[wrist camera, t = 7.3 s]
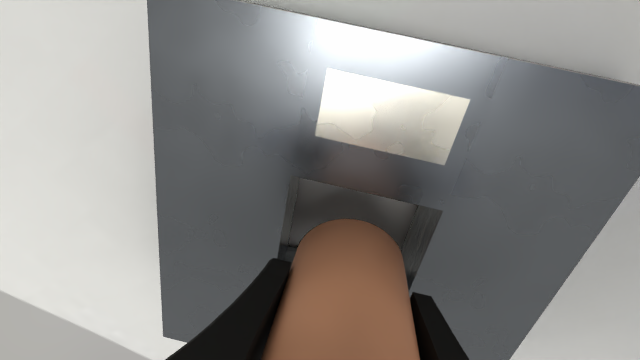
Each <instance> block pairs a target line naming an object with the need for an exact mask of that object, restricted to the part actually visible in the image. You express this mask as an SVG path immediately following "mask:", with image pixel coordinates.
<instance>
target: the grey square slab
mask: <svg viewBox="0 0 640 360" xmlns="http://www.w3.org/2000/svg"><path fill="white" fill-rule="evenodd" d="M147 8H148V29H149V50H150V71H151V92H152V113H153V133H154V154H155V175H156V196H157V217H158V238H159V258H160V279H161V300H162V321H163V337H167V338H171V339H175V340H179V341H183V342H187V343H188V342H189V341H190V340H192V339H193V338H194V337H195V336H197V335H198V334H199V333H200V332H201V331H203V330H204V329H205V328H206V327H207V326H208V325H209V324H211V323H212V322H213V321H214V320H215V319H216V318H217V317H218V316H219V315H220V314H221V313H222V312H223V311H225V310H226V309H227V308H228V307H229V306H230V305H231V304H232V303H233V302H234V301H235V300H236V299H237V298H238V297H239V296H240V295H241V294H242V292H243V291H244V290H245V289H246V288H247V287H248V286H249V285H250V284H251V283H252V282H253V280H254V279H255V278H256V277H257V276H258V275H259V273H260V272H261V271H262V270H263V268H264V267H265V266H266V264H267V263H268V262H269V260H270V259H272V258H276V259H280V260H284V261H288V262H291V266H292V263H293V260H294V257H295V254H296V251H297V248H294V247H290V246H288V241H289V236H290V230H291V225H292V219H293V213H294V208H295V202H296V197H297V191H298V185H299V180H300V178H304V179H309V180H313V181H317V182H322V183H326V184H330V185H335V186H339V187H343V188H348V189H352V190H356V191H360V192H365V193H369V194H373V195H378V196H382V197H386V198H391V199H395V200H399V201H403V202H408V203H412V204H416V205H418V207H417V210H416V213H415V215H414V218H413V220H412V223H411V226H410V228H409V231H408V234H407V236H406V239H405V241H404V244H403V247H402V249H401V253H402V256H403V261H404V267H405V273H406V279H407V285H408V291H409V297H411V295H412V292H416V293H420V294H424V295H428V296H431V297H432V298H433V300H434V302H435V303H436V305H437V307H438V308H439V310H440V312H441V313H442V315H443V317H444V319H445V320H446V322H447V324H448V325H449V327H450V329H451V330H452V332H453V334H454V335H455V337H456V339H457V340H458V342H459V344H460V345H461V347H462V348H463V350H464V352H465V353H466V355H467V356H468V358H469V360H509V359H510V358H511V356H512V355H513V354H514V352H515V351H516V349H517V348H518V347H519V345H520V344H521V342H522V341H523V340H524V338H525V337H526V335H527V334H528V333H529V331H530V330H531V328H532V327H533V325H534V324H535V323H536V321H537V320H538V318H539V317H540V316H541V314H542V313H543V311H544V310H545V309H546V307H547V306H548V304H549V303H550V302H551V300H552V299H553V297H554V296H555V295H556V293H557V292H558V290H559V289H560V287H561V286H562V285H563V283H564V282H565V280H566V279H567V278H568V276H569V275H570V273H571V272H572V271H573V269H574V268H575V266H576V265H577V264H578V262H579V261H580V259H581V258H582V256H583V255H584V254H585V252H586V251H587V249H588V248H589V247H590V245H591V244H592V242H593V241H594V240H595V238H596V237H597V235H598V234H599V233H600V231H601V230H602V228H603V227H604V226H605V224H606V223H607V221H608V220H609V218H610V217H611V216H612V214H613V213H614V211H615V210H616V209H617V207H618V206H619V204H620V203H621V202H622V200H623V199H624V197H625V196H626V195H627V193H628V192H629V190H630V189H631V188H632V186H633V185H634V183H635V182H636V180H637V179H638V178H639V176H640V85H637V84H632V83H628V82H624V81H619V80H614V79H610V78H605V77H600V76H595V75H591V74H586V73H581V72H576V71H572V70H567V69H562V68H558V67H553V66H548V65H543V64H539V63H534V62H529V61H524V60H520V59H515V58H510V57H506V56H501V55H496V54H491V53H487V52H482V51H477V50H472V49H468V48H463V47H458V46H454V45H449V44H444V43H439V42H435V41H430V40H425V39H420V38H416V37H411V36H406V35H401V34H397V33H392V32H387V31H383V30H378V29H373V28H368V27H364V26H359V25H354V24H349V23H345V22H340V21H335V20H331V19H326V18H321V17H316V16H312V15H307V14H302V13H297V12H293V11H288V10H283V9H279V8H274V7H269V6H264V5H260V4H255V3H250V2H245V1H241V0H147ZM290 269H291V267H290Z"/></svg>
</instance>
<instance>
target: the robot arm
mask: <svg viewBox="0 0 640 360" xmlns="http://www.w3.org/2000/svg"><path fill="white" fill-rule="evenodd" d="M290 267H291V262H288V261H284V260H280V259H276V258H272V259H270V260H269V262H268V263H267V264H266V266H265V267H264V268H263V270H262V271H261V272H260V273H259V275H258V276H257V277H256V278H255V279H254V280H253V282H252V283H251V284H250V285H249V286H248V287H247V288H246V289H245V290H244V291H243V292H242V294H241V295H240V296H239V297H238V298H237V299H236V300H235V301H234V302H233V303H232V304H231V305H230V306H229V307H228V308H227V309H226V310H225V311H223V312H222V313H221V314H220V315H219V316H218V317H217V318H216V319H215V320H214V321H213V322H212V323H211V324H209V325H208V326H207V327H206V328H205V329H204V330H203V331H201V332H200V333H199V334H198V335H197V336H195V337H194V338H193V339H192V340H190V341H189V342H188V343H187V344H185V345H184V346H183V347H182V348H180V349H179V350H178V351H176V352H175V353H174V354H172V355H171V356H170V357H168V358H167V359H166V360H261V357H262V354H263V351H264V348H265V345H266V342H267V339H268V336H269V333H270V330H271V327H272V324H273V320H274V317H275V314H276V311H277V308H278V305H279V302H280V299H281V296H282V294H283V291H284V287H285V284H286V281H287V278H288V275H289V272H290ZM410 303H411V308H412V314H413V320H414V326H415V332H416V338H417V344H418V350H419V356H420V360H469V358H468V356H467V355H466V353H465V352H464V350H463V348H462V347H461V345H460V344H459V342H458V340H457V339H456V337H455V335H454V334H453V332H452V330H451V329H450V327H449V325H448V324H447V322H446V320H445V319H444V317H443V315H442V313H441V312H440V310H439V308H438V307H437V305H436V303H435V302H434V300H433V298H432V297H431V296H428V295H424V294H420V293H416V292H412V295H411V297H410Z"/></svg>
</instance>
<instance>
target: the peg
mask: <svg viewBox="0 0 640 360" xmlns="http://www.w3.org/2000/svg"><path fill="white" fill-rule="evenodd" d="M261 360H420V356H419V350H418V344H417V338H416V332H415V326H414V320H413V314H412V308H411V303H410V297H409V291H408V285H407V279H406V273H405V267H404V261H403V256H402V253H401V250H400V249H399V247H398V245H397V243H396V242H395V241H394V239H393V238H392V237H391V236H390V235H389V234H387V233H386V232H385V231H384V230H382V229H381V228H379V227H377V226H375V225H373V224H371V223H368V222H365V221H361V220H356V219H337V220H331V221H328V222H325V223H322V224H320V225H318V226H316V227H314V228H313V229H312V230H310V231H309V232H308V233H307V234H306V235H305V236H304V237H303V239H302V240H301V241H300V243H299V245H298V248H297V251H296V254H295V257H294V260H293V263H292V266H291V269H290V272H289V275H288V278H287V281H286V284H285V287H284V291H283V294H282V296H281V299H280V302H279V305H278V308H277V311H276V314H275V317H274V320H273V324H272V327H271V330H270V333H269V336H268V339H267V342H266V345H265V348H264V351H263V354H262V357H261Z"/></svg>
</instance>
